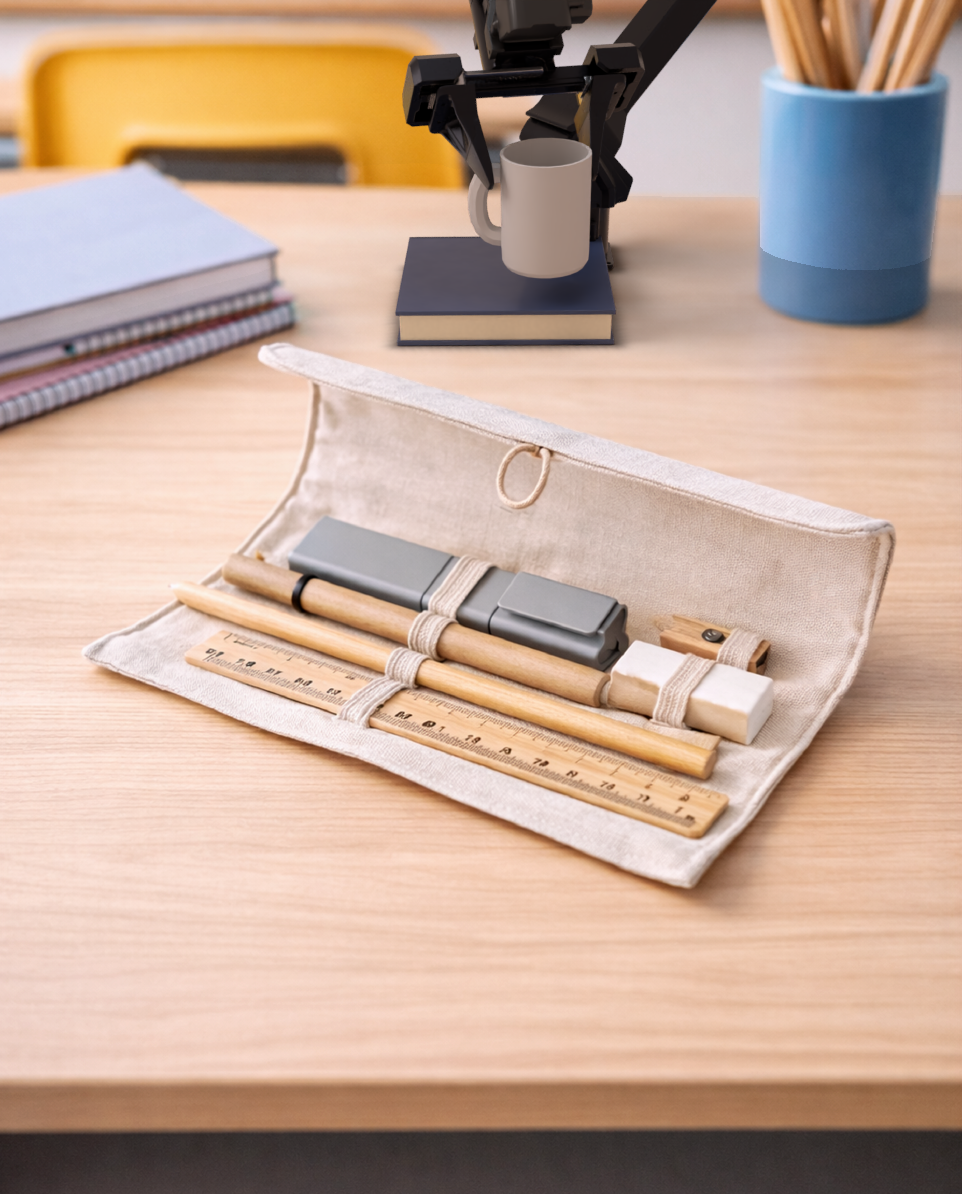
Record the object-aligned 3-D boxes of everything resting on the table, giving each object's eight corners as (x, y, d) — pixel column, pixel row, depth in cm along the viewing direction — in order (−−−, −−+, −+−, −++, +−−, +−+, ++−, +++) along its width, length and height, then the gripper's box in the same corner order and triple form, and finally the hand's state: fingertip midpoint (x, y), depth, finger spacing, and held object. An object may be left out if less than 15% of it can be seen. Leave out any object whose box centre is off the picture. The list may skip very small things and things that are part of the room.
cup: (582, 282, 95) (585, 169, 90) (460, 275, 97) (455, 164, 91) (594, 247, 101) (597, 139, 95) (478, 241, 102) (475, 135, 97)
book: (410, 267, 114) (409, 236, 112) (599, 266, 113) (601, 235, 112) (397, 345, 99) (395, 311, 97) (614, 344, 99) (615, 310, 97)
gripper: (403, -64, 86) (442, 135, 84) (645, -73, 90) (688, 116, 88) (387, 34, 97) (421, 212, 95) (604, 22, 101) (642, 192, 98)
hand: (542, 182), depth 94 cm, fingers closed on cup, 8 cm apart
